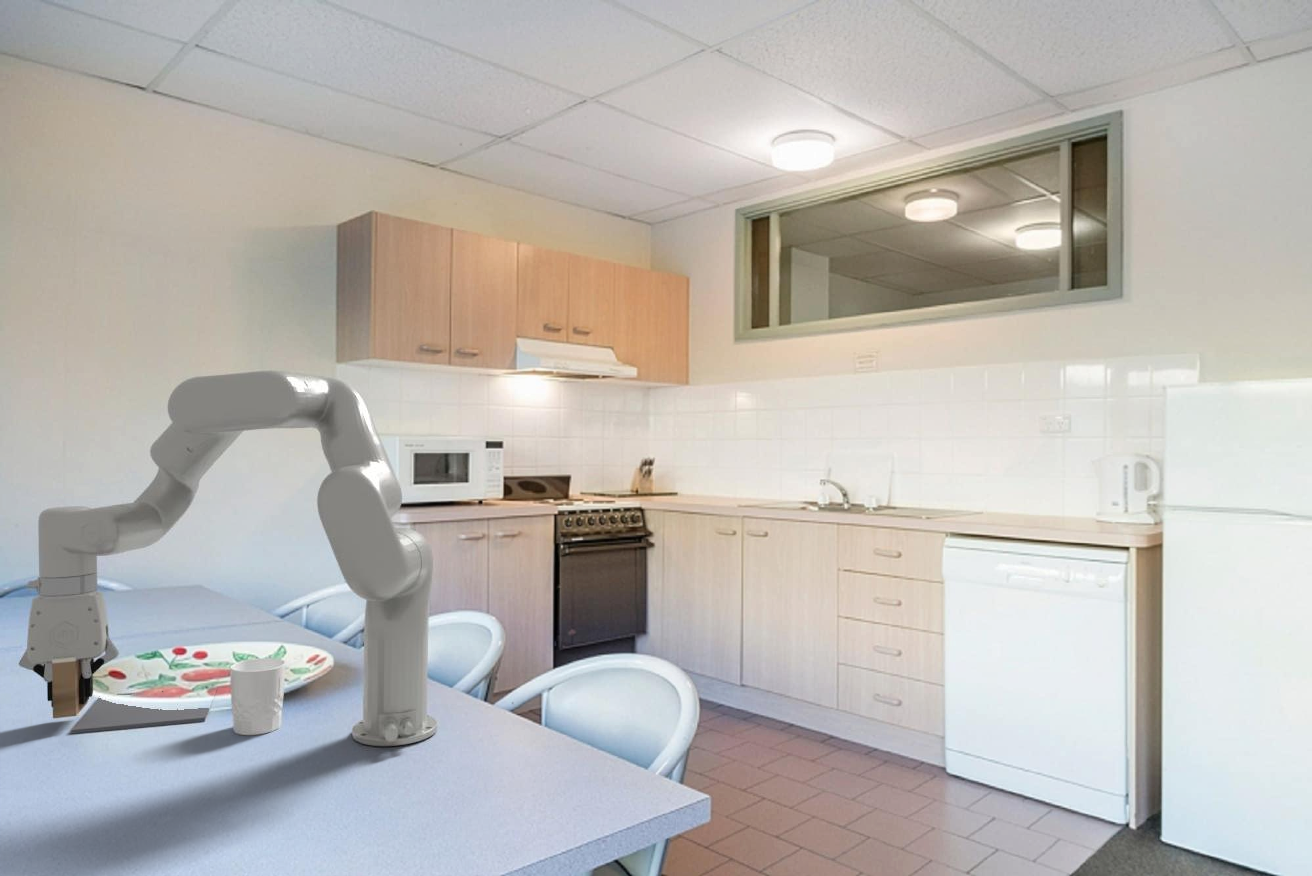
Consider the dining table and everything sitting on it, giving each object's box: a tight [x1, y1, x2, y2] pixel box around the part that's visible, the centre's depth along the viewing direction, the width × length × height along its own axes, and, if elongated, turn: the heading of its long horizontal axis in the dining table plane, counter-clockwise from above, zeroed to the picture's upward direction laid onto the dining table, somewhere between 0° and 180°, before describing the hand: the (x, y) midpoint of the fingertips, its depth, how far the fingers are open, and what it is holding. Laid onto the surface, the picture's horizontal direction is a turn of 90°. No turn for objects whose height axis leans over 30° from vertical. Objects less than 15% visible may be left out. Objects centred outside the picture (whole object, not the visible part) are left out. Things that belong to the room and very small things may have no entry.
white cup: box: [229, 657, 287, 736], centre depth 135 cm, size 8×8×10 cm
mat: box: [71, 692, 210, 735], centre depth 143 cm, size 18×18×1 cm
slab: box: [52, 656, 89, 719], centre depth 135 cm, size 7×3×9 cm, turn 21°
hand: (70, 702), depth 135 cm, fingers closed on slab, 3 cm apart
